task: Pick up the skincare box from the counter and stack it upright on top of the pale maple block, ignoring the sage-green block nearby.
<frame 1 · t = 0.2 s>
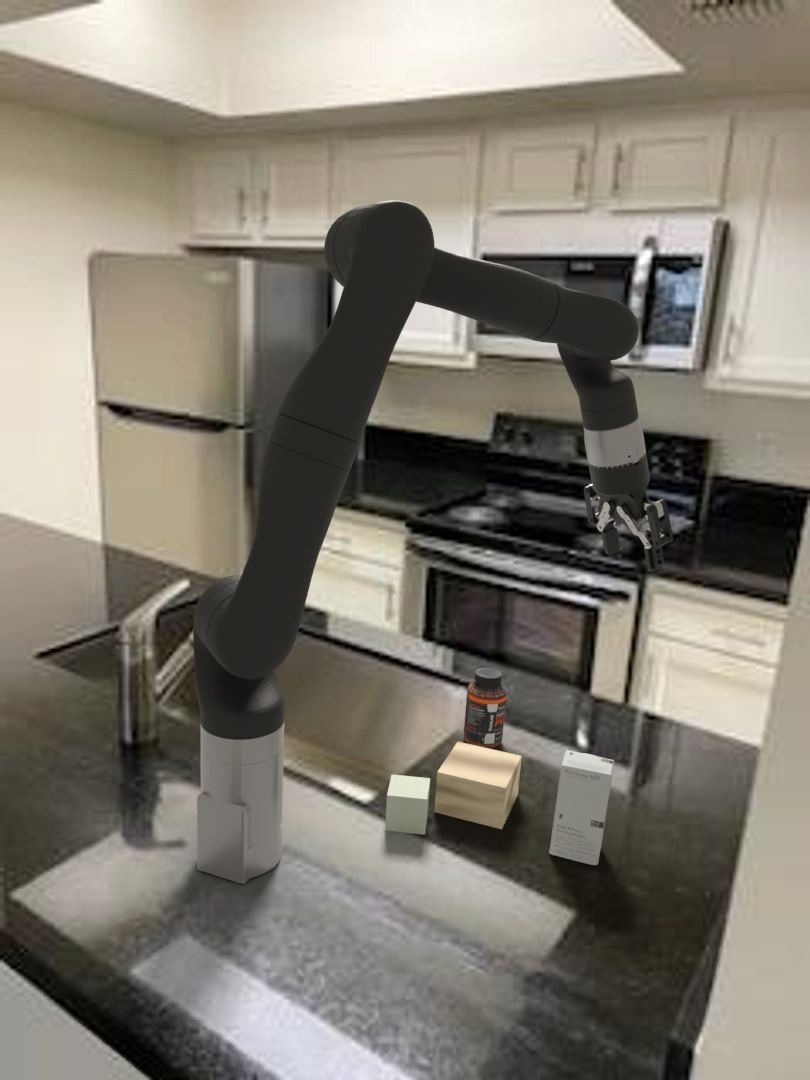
hand: (633, 560, 117), 31 cm above the countertop, tool tilted 20°, fingers open, 8 cm apart
sage block: (406, 821, 107), on the countertop
maple block: (477, 804, 112), on the countertop
skincare box: (576, 852, 103), on the countertop
supplement bottle: (482, 742, 128), on the countertop
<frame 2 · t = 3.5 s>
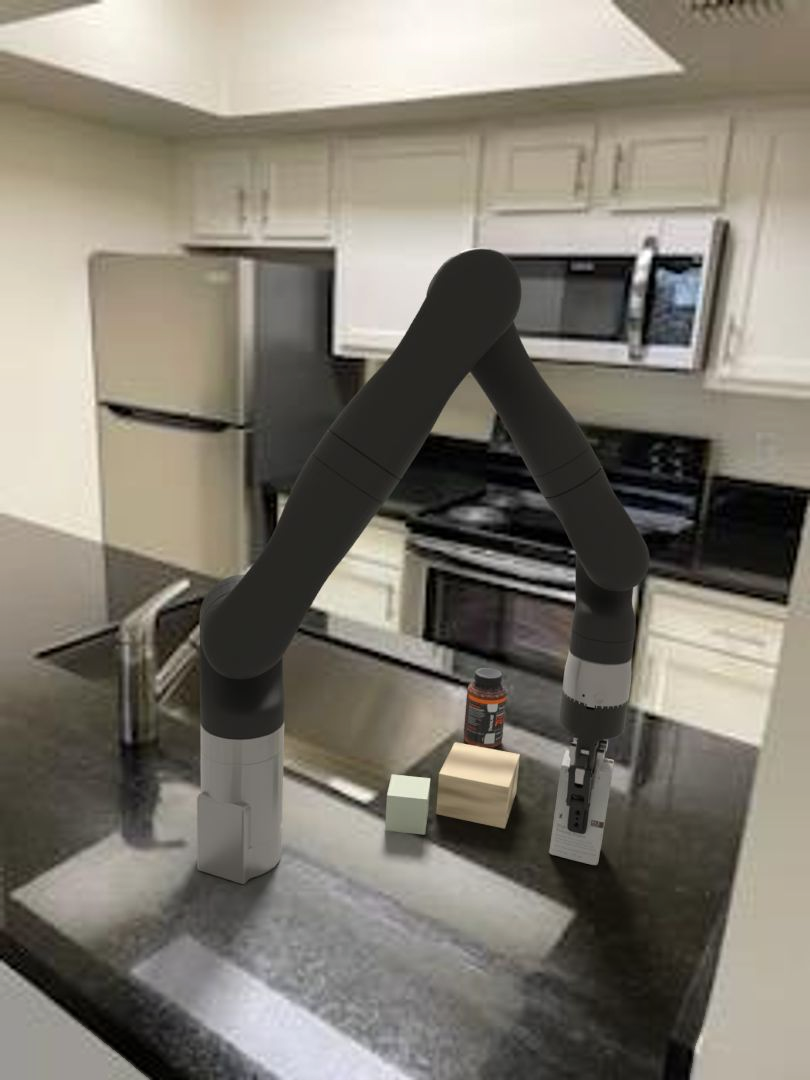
hand: (580, 819, 101), 4 cm above the countertop, tool pointing down, fingers closed on skincare box, 4 cm apart
skincare box: (576, 852, 103), on the countertop, touching gripper
everything else where it was.
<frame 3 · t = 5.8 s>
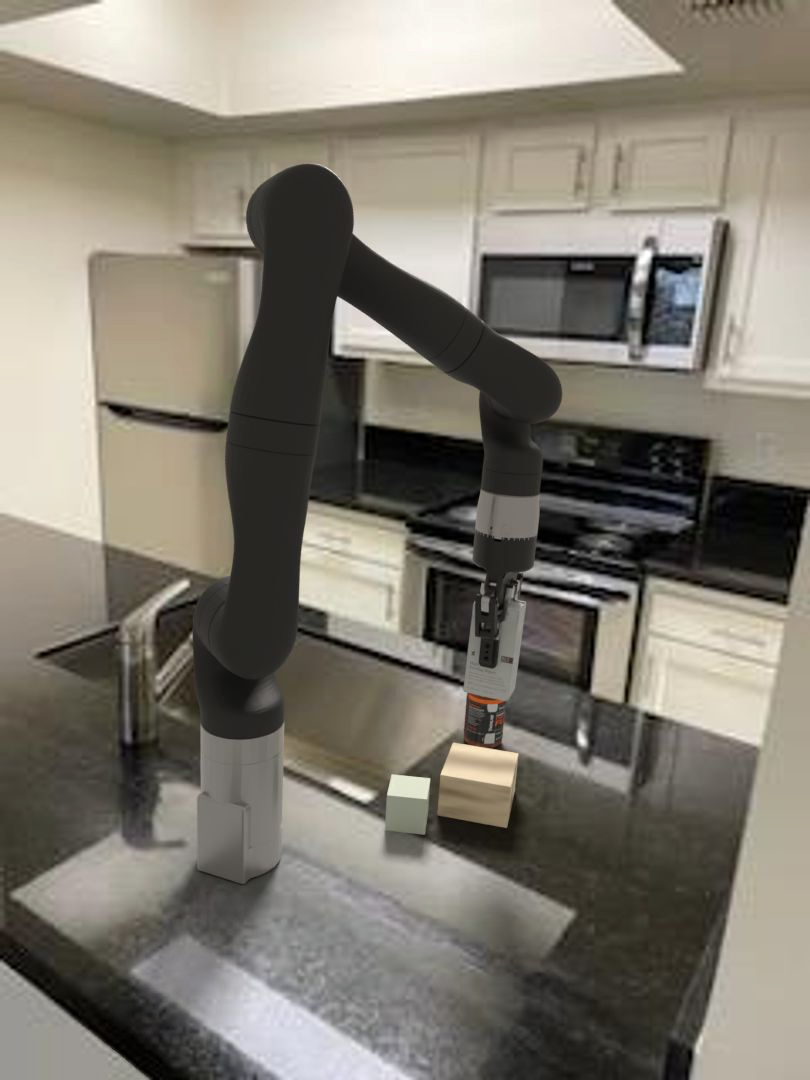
hand: (493, 659, 106), 21 cm above the countertop, tool pointing down, fingers closed on skincare box, 4 cm apart
skincare box: (490, 692, 107), point 16 cm above the countertop, touching gripper
everything else where it was.
when the fingers open (11 cm above the countertop, at t = 8.1 s): skincare box stays where it is, resting on maple block.
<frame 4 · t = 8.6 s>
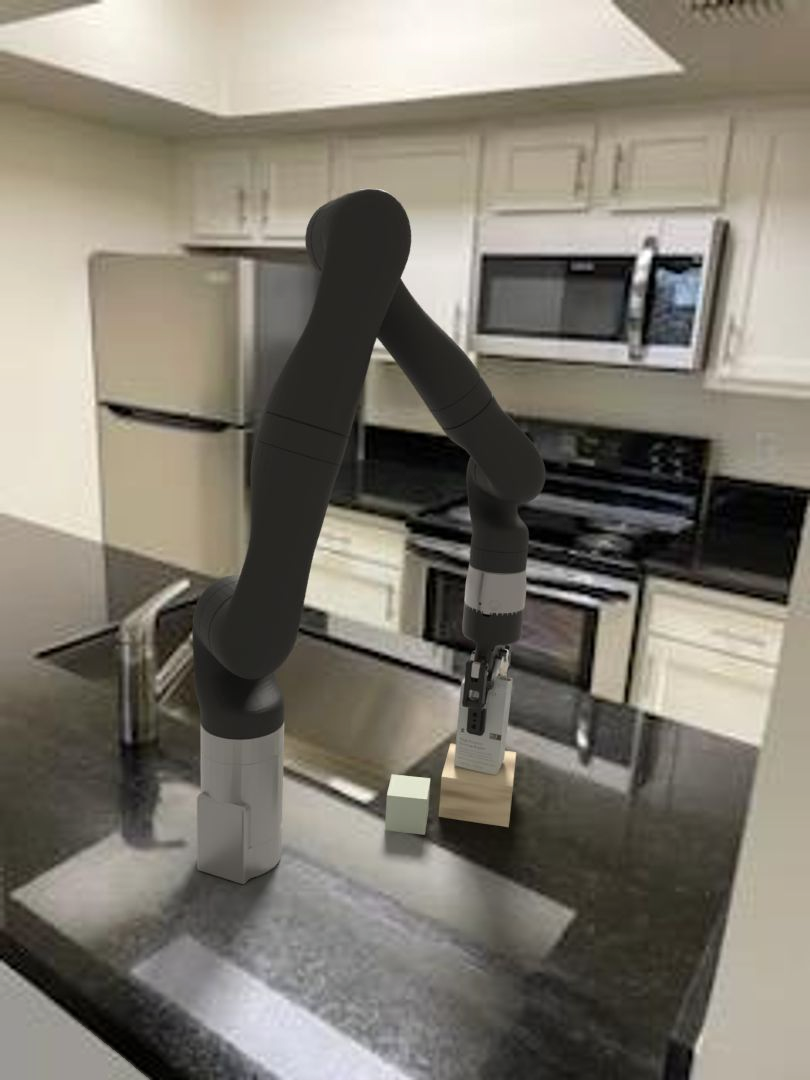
hand: (484, 719, 109), 12 cm above the countertop, tool pointing down, fingers open, 8 cm apart
maple block: (476, 804, 112), on the countertop, touching skincare box
skincare box: (480, 764, 110), point 6 cm above the countertop, touching maple block
everything else where it was.
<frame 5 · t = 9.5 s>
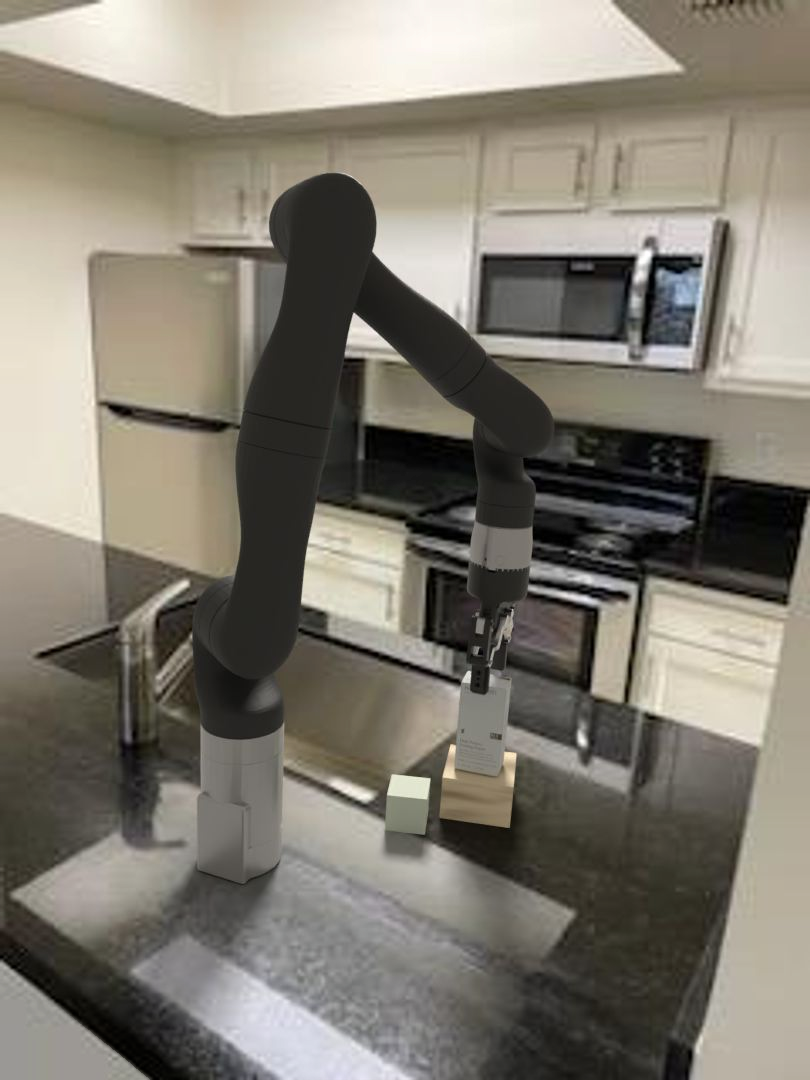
hand: (487, 680, 107), 18 cm above the countertop, tool pointing down, fingers open, 8 cm apart
nothing on the countertop moved.
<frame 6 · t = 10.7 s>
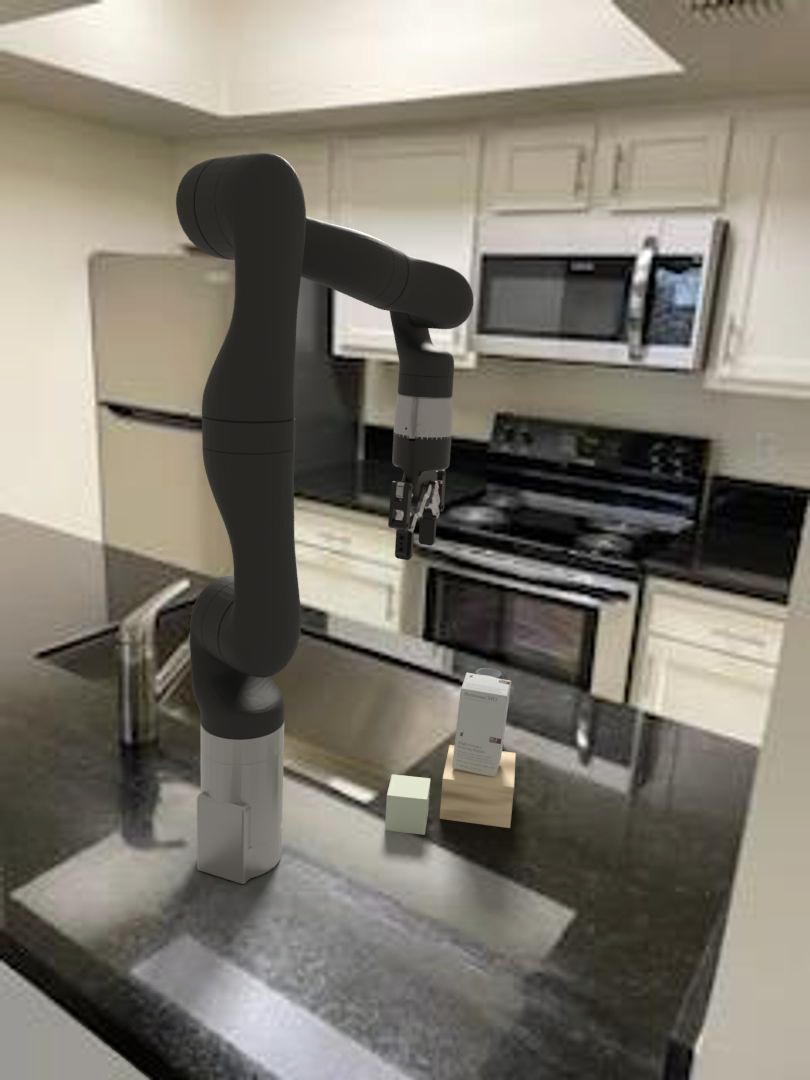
hand: (415, 551, 113), 32 cm above the countertop, tool pointing down, fingers open, 8 cm apart
maple block: (476, 805, 111), on the countertop
skincare box: (477, 764, 110), point 6 cm above the countertop
everything else where it was.
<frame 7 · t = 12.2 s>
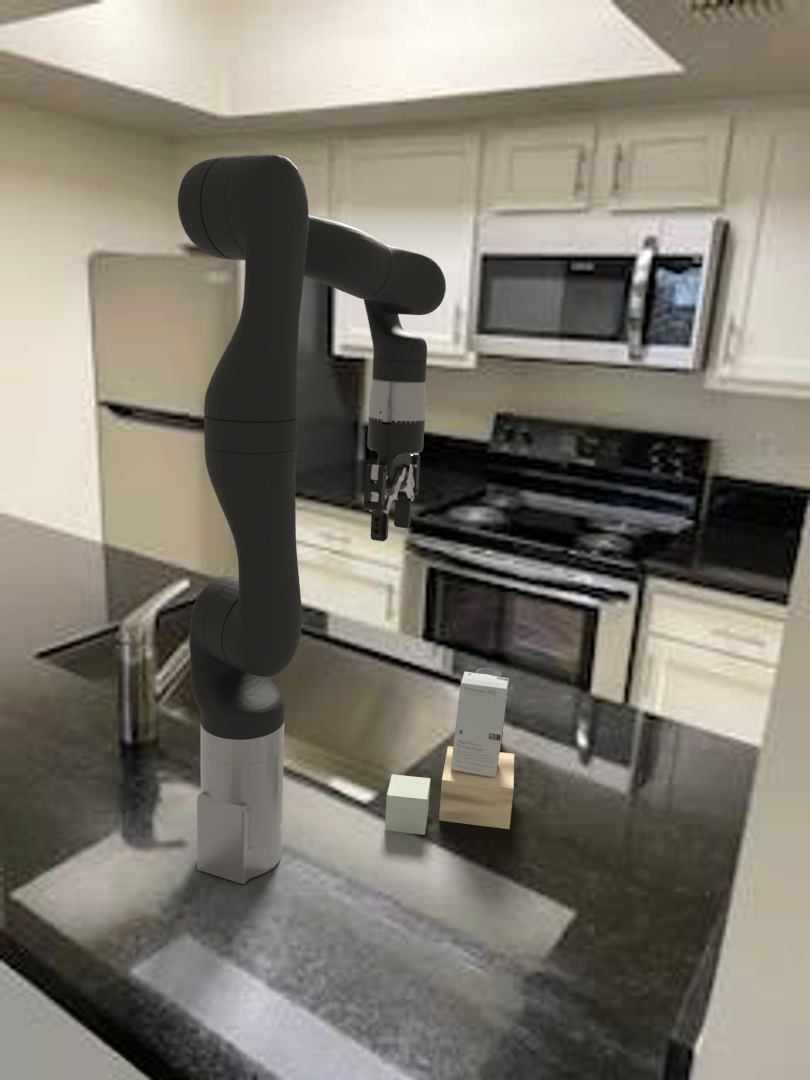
hand: (390, 533, 115), 33 cm above the countertop, tool pointing down, fingers open, 8 cm apart
maple block: (475, 807, 111), on the countertop, touching skincare box
skincare box: (475, 768, 109), point 6 cm above the countertop, touching maple block
everything else where it was.
at the end: skincare box inside the target area on the maple block (0.8 cm from its centre), point 6.1 cm above the maple block's base; skincare box tilted 5°; the gripper is holding nothing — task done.
